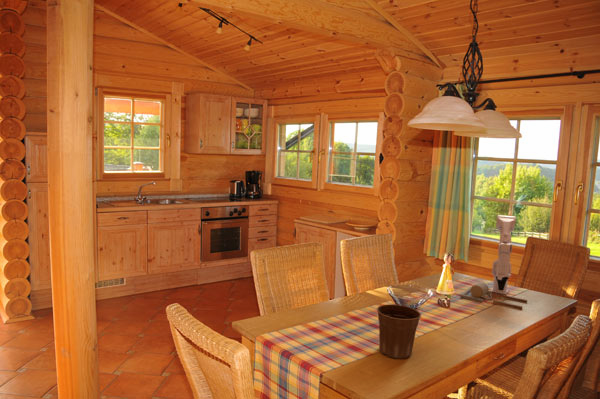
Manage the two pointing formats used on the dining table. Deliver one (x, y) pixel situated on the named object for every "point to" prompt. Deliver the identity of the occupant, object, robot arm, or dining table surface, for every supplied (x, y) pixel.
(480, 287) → the speckled coffee cup
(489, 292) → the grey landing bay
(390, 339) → the plant pot
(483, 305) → the dining table surface
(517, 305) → the walnut dock
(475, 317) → the dining table surface
